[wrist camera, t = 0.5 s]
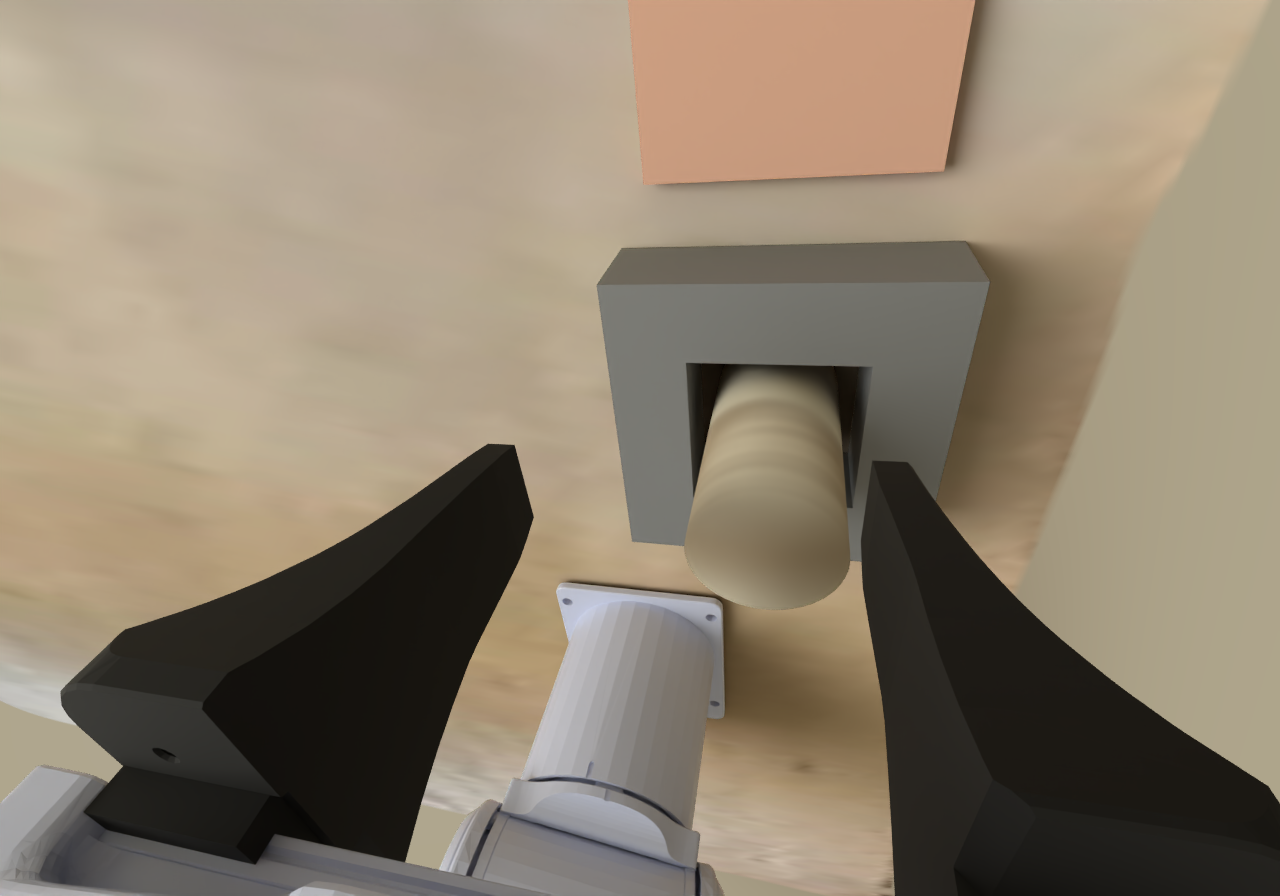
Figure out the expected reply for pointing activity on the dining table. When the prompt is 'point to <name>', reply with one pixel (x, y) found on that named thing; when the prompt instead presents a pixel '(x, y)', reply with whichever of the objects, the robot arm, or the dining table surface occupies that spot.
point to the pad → (795, 86)
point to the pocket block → (786, 354)
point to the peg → (771, 489)
